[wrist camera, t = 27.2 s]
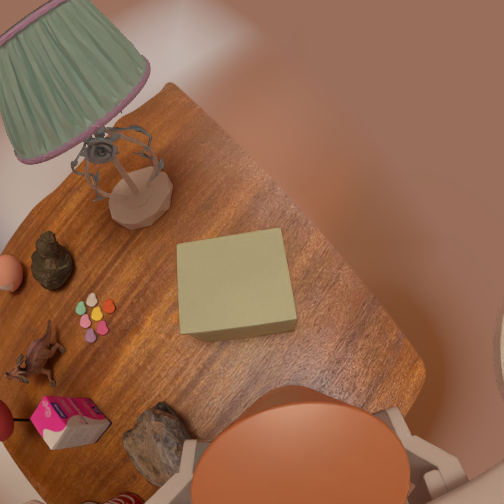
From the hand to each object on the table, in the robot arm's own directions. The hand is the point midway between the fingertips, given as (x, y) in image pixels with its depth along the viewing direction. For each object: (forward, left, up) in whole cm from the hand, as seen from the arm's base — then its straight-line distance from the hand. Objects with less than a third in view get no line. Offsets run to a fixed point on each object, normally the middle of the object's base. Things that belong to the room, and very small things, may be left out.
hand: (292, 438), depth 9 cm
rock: (+17, +8, -30) cm, 35 cm away
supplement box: (+31, +4, -30) cm, 43 cm away
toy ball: (+53, -23, -30) cm, 65 cm away
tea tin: (0, +1, -6) cm, 6 cm away
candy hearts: (+29, -14, -29) cm, 44 cm away
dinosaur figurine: (+40, -6, -30) cm, 50 cm away
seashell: (+41, -23, -30) cm, 56 cm away
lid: (+4, -14, -22) cm, 26 cm away
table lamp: (+21, -35, -30) cm, 51 cm away
